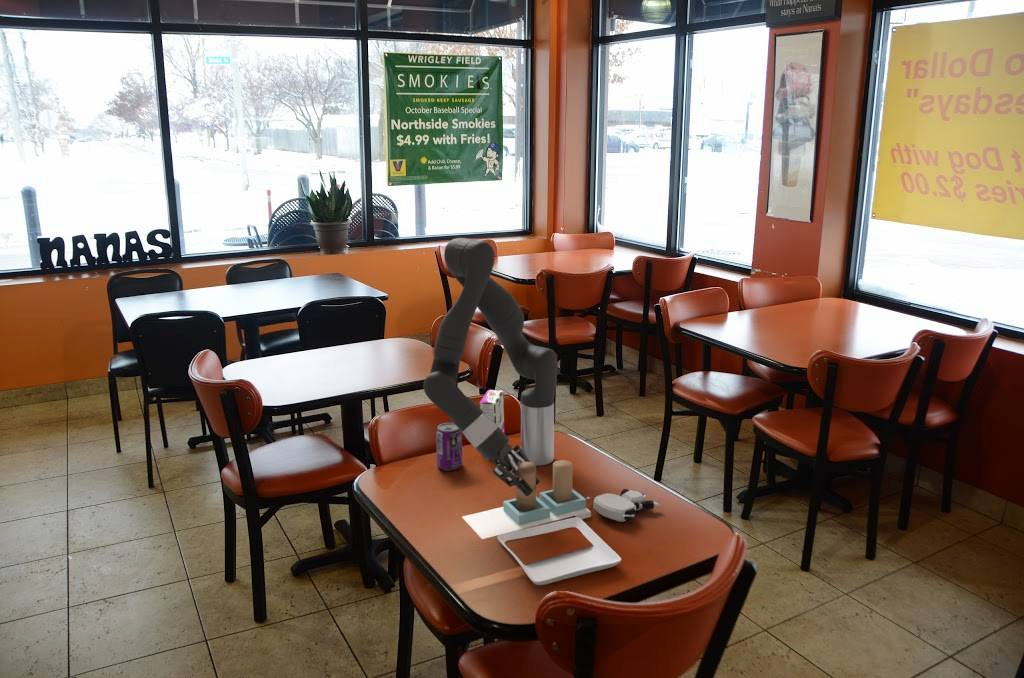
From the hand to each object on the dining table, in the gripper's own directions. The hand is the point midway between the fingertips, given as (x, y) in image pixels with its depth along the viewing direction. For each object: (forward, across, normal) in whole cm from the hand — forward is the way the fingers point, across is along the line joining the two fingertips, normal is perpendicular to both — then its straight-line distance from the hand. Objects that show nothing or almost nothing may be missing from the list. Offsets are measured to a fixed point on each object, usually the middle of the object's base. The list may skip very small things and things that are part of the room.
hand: (533, 488), depth 195 cm
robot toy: (+20, +11, -8) cm, 24 cm away
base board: (+5, 0, +7) cm, 9 cm away
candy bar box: (-11, +38, +23) cm, 46 cm away
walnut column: (+2, 0, +5) cm, 6 cm away
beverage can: (-16, +23, +28) cm, 40 cm away
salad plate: (+14, -15, -1) cm, 20 cm away
